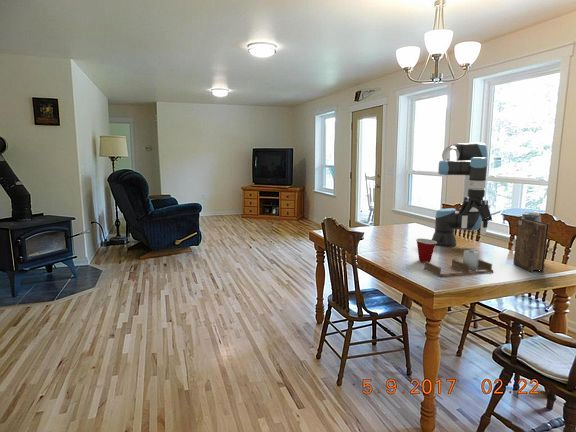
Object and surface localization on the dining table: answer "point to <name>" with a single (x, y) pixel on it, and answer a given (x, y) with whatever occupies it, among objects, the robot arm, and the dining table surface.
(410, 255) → the dining table surface
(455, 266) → the comb rack
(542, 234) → the book
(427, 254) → the plastic cup
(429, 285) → the dining table surface
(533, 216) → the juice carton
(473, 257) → the stoneware jar
